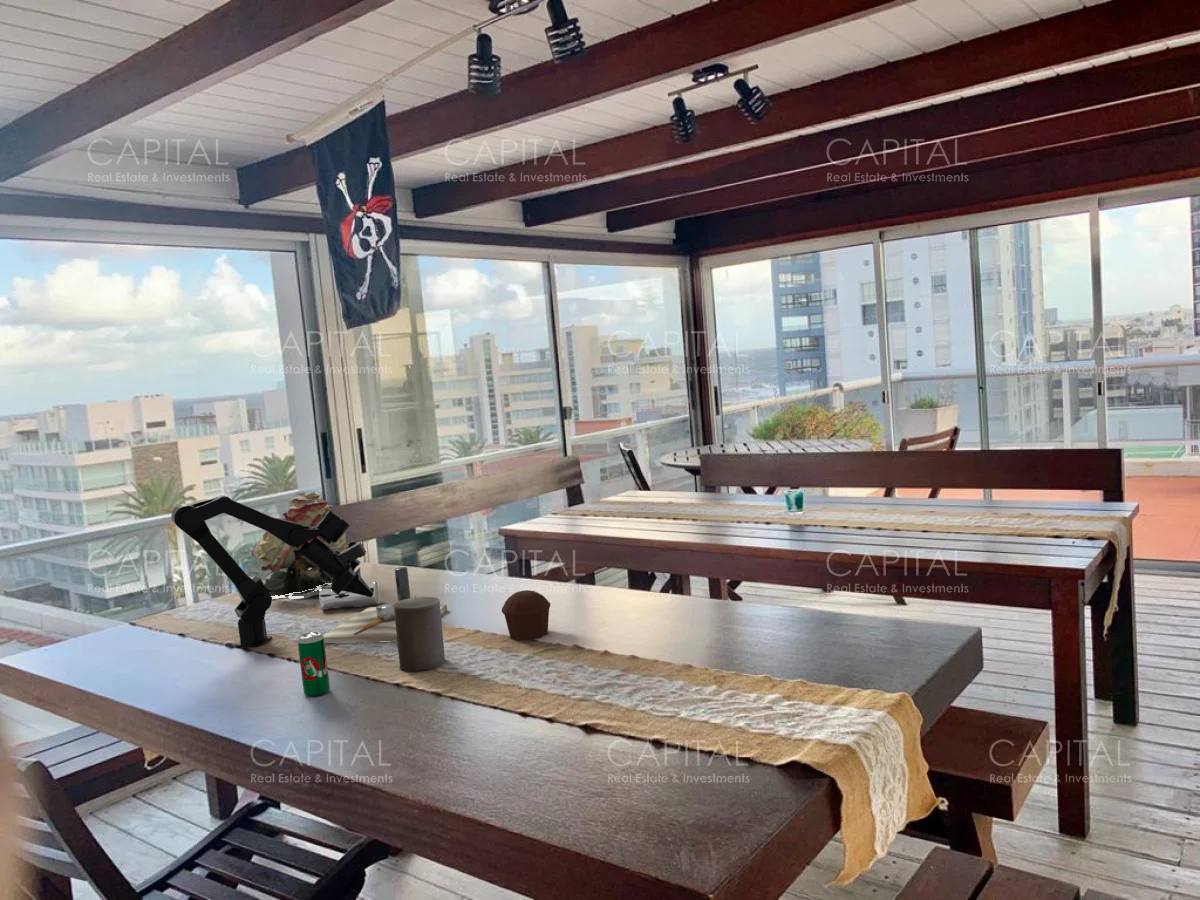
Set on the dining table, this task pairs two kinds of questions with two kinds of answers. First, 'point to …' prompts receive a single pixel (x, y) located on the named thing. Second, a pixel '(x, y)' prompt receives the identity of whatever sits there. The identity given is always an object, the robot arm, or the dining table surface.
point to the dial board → (374, 633)
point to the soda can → (313, 664)
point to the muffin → (526, 615)
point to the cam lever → (403, 593)
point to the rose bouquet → (283, 555)
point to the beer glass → (348, 597)
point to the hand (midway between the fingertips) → (372, 595)
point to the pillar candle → (419, 634)
